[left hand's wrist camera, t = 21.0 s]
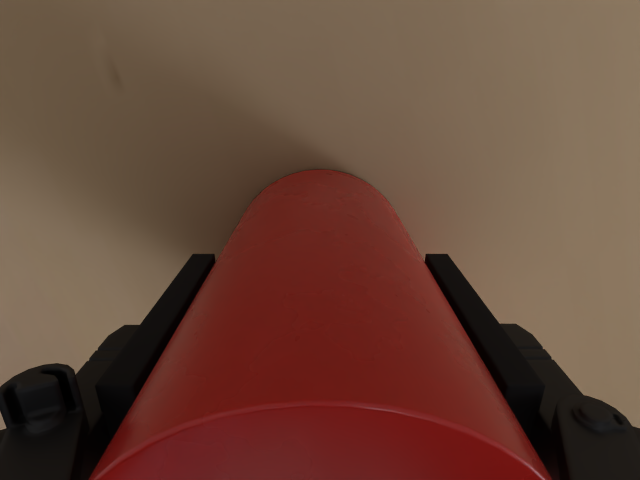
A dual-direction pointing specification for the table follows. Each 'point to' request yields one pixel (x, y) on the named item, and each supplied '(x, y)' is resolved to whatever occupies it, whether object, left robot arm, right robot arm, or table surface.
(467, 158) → the table surface
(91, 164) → the table surface
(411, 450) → the canister
